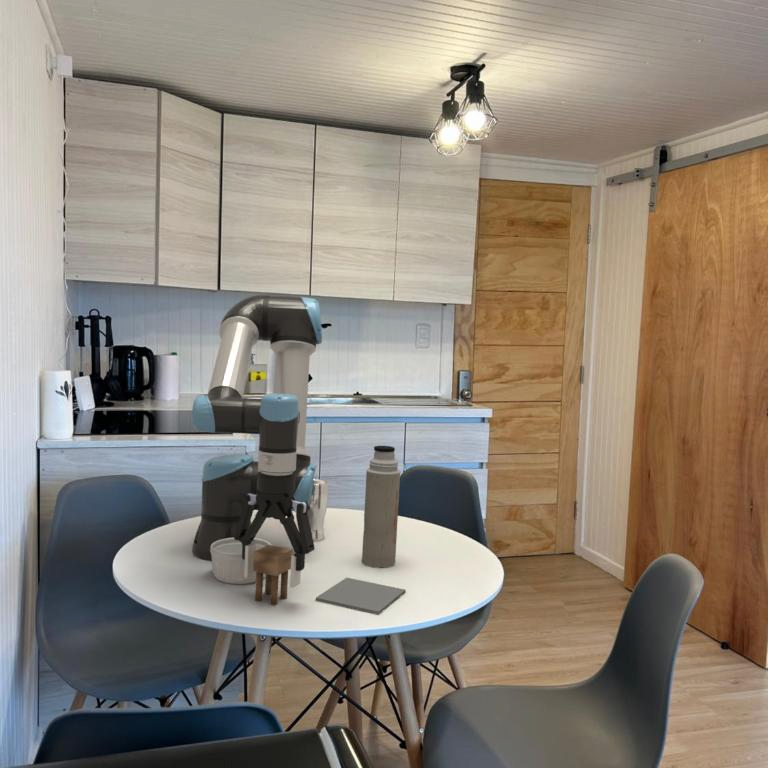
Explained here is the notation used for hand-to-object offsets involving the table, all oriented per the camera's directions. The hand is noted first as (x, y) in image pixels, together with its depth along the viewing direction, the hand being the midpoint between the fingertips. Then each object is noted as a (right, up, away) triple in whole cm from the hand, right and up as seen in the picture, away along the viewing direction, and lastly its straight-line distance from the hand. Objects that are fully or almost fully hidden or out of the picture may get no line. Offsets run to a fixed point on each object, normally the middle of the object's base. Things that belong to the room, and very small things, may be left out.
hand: (271, 580), depth 144 cm
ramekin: (-9, -3, +13) cm, 16 cm away
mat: (+18, -4, +4) cm, 19 cm away
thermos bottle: (+21, -3, +27) cm, 34 cm away
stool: (0, -4, 0) cm, 4 cm away
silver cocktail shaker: (+4, -1, +44) cm, 44 cm away
